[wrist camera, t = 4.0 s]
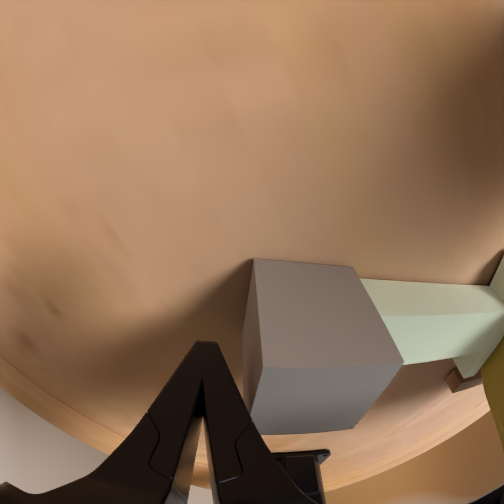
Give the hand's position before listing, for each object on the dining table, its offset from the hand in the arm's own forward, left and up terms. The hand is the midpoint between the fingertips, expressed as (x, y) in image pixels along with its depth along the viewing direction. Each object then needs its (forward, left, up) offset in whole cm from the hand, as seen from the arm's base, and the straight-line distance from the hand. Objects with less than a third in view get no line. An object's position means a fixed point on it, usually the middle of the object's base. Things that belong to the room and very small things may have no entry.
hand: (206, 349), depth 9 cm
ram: (0, -9, -3) cm, 10 cm away
